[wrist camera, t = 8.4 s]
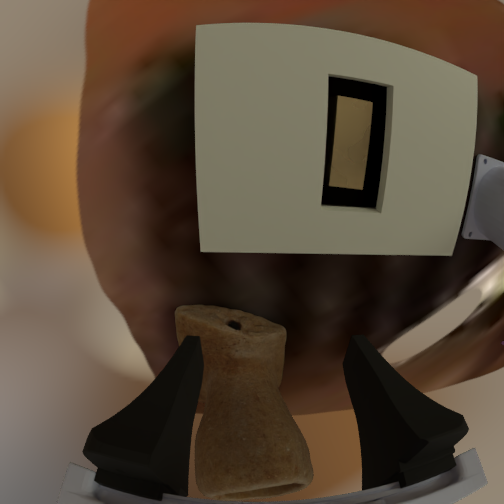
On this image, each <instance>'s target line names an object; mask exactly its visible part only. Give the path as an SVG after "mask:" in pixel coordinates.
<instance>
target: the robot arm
mask: <svg viewBox="0 0 504 504" xmlns="http://www.w3.org/2000/svg"><path fill="white" fill-rule="evenodd" d="M469 233H470V234H469ZM462 237H464V238H465V239H479V240H491V241H492V242H494V243H495V244H496V245H497V246H499V247H500V248H501V249H503V250H504V162H501V161H499V160H496V159H493V158H490V157H487V156H484V155H481V154H479V155H478V156H477V158H476V165H475V172H474V178H473V184H472V189H471V194H470V199H469V204H468V209H467V213H466V217H465V221H464V225H463V229H462ZM343 368H344V375H345V381H346V384H347V388H348V391H349V395H350V398H351V402H352V405H353V408H354V412H355V415H356V419H357V424H358V431H359V438H360V446H361V457H362V491H358V492H353V493H348V494H342V495H336V496H330V497H324V498H315V499H306V500H294V501H279V502H278V501H277V502H237V501H219V500H207V499H198V498H190V497H187V496H188V475H189V458H190V445H191V435H192V427H193V421H194V416H195V412H196V408H197V403H198V399H199V395H200V390H201V386H202V380H203V371H204V360H203V354H202V347H201V340H200V336H190V335H187V336H186V337H185V338H184V340H183V341H182V343H181V345H180V346H179V348H178V349H177V351H176V352H175V354H174V355H173V357H172V358H171V359H170V361H169V362H168V364H167V365H166V366H165V368H164V369H163V370H162V371H161V372H160V374H159V375H158V376H157V377H156V378H155V380H154V381H153V382H152V383H151V384H150V385H149V386H148V387H147V388H146V389H145V390H144V391H143V392H142V393H141V394H140V395H139V396H138V397H137V398H136V399H135V400H133V401H132V402H131V403H130V404H129V405H128V406H126V407H125V408H124V409H122V410H121V411H120V412H118V413H117V414H115V415H114V416H112V417H111V418H109V419H108V420H106V421H104V422H102V423H101V424H99V425H97V426H96V427H94V428H92V430H91V432H90V433H89V435H88V438H87V440H86V443H85V446H84V449H83V454H84V456H85V457H86V458H87V459H88V460H90V461H91V462H92V463H93V464H94V465H95V466H97V467H98V469H97V472H94V471H92V470H90V469H88V468H85V467H82V466H79V465H77V464H74V463H71V462H70V463H69V465H68V468H67V471H66V474H65V477H64V480H63V483H62V487H61V490H60V493H59V497H58V500H57V503H58V504H453V503H455V502H457V501H459V500H461V499H462V498H465V497H466V496H468V495H470V494H472V493H473V492H475V491H477V490H479V489H480V488H482V487H483V486H485V485H487V479H486V476H485V474H484V471H483V468H482V465H481V462H480V460H479V457H478V454H477V452H476V449H475V448H472V449H470V450H468V451H466V452H464V453H462V454H460V455H458V456H456V457H455V458H454V456H453V453H454V452H455V449H454V445H455V444H456V443H458V442H459V441H460V440H461V439H462V438H463V437H464V436H465V435H466V434H467V432H468V430H469V428H468V426H467V424H466V421H465V419H464V417H463V415H461V414H459V413H457V412H454V411H452V410H450V409H447V408H445V407H444V406H442V405H440V404H438V403H437V402H435V401H433V400H432V399H430V398H429V397H427V396H426V395H424V394H423V393H421V392H420V391H419V390H417V389H416V388H415V387H413V386H412V385H411V384H410V383H409V382H407V381H406V380H405V379H404V378H403V377H402V376H401V375H400V374H399V373H398V372H397V371H396V370H395V369H394V368H393V367H392V366H391V365H390V364H389V363H388V362H387V361H386V360H385V359H384V358H383V357H382V356H381V354H380V353H379V352H378V351H377V350H376V349H375V348H374V346H373V345H372V344H371V343H370V342H369V341H368V339H367V338H366V337H365V336H364V335H352V337H351V340H350V343H349V346H348V349H347V352H346V355H345V358H344V361H343Z"/></svg>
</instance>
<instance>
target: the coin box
mask: <svg viewBox="0 0 504 504" xmlns="http://www.w3.org/2000/svg"><path fill="white" fill-rule="evenodd" d="M328 76H330V77H337V78H344V79H350V80H356V81H362V82H367V83H372V84H377V85H381V86H386V87H387V104H386V123H385V137H384V149H383V159H382V168H381V176H380V184H379V192H378V198H377V205H376V207H364V206H348V205H330V204H321V201H322V190H323V178H324V165H325V150H326V133H327V111H328ZM476 122H477V76H476V75H474V74H472V73H470V72H468V71H466V70H464V69H462V68H459V67H457V66H455V65H453V64H450V63H448V62H446V61H443V60H441V59H438V58H436V57H433V56H430V55H428V54H425V53H422V52H419V51H416V50H413V49H410V48H407V47H404V46H401V45H398V44H394V43H391V42H387V41H384V40H380V39H376V38H372V37H367V36H363V35H358V34H354V33H349V32H343V31H338V30H332V29H325V28H318V27H310V26H300V25H289V24H273V23H224V24H207V25H196V49H195V151H196V180H197V201H198V219H199V235H200V249H201V252H242V253H307V254H373V255H442V256H452V253H453V250H454V247H455V243H456V240H457V236H458V232H459V228H460V225H461V221H462V216H463V212H464V208H465V203H466V198H467V193H468V188H469V182H470V176H471V170H472V163H473V155H474V146H475V136H476Z"/></svg>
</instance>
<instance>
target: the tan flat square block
mask: <svg viewBox="0 0 504 504" xmlns="http://www.w3.org/2000/svg"><path fill="white" fill-rule="evenodd" d="M372 107H373V102H369V101H365V100H360V99H355V98H350V97H344V96H338V95H337V96H333V97H329V98H328V111H327V133H326V150H325V165H324V178H323V181H324V182H325V183H326V184H327V185H328V186H334V187H344V188H352V189H361V190H363V184H364V177H365V170H366V163H367V155H368V147H369V139H370V129H371V119H372Z"/></svg>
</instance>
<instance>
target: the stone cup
mask: <svg viewBox="0 0 504 504" xmlns="http://www.w3.org/2000/svg"><path fill="white" fill-rule="evenodd" d="M175 323H176V332H177V340H178V343H179V346H180V345H181V343H182V341H183V340H184V338H185V337H186V336H187V335H190V336H200V340H201V347H202V354H203V360H204V371H203V380H202V386H201V390H200V395H199V399H198V401H200V402H203V403H205V408H204V413H203V417H202V419H201V422H200V426H199V428H198V431H197V434H196V440H195V476H196V484H197V486H198V489H199V491H200V492H201V493H202V494H203V495H204V496H207V497H211V498H213V499H217V500H220V501H240V500H249V499H262V498H271V497H276V496H282V495H285V494H290V493H293V492H297V491H300V490H302V489H304V488H306V487H307V486H308V485H309V484H310V483H311V482H312V479H313V468H312V464H311V460H310V453H309V449H308V446H307V443H306V440H305V439H304V437H303V435H302V433H301V431H300V429H299V428H298V426H297V424H296V422H295V421H294V419H293V417H292V415H291V414H290V412H289V410H288V408H287V406H286V404H285V402H284V400H283V398H282V396H281V394H280V391H279V389H278V388H279V386H280V384H281V381H282V374H283V366H284V355H285V342H286V337H287V335H286V329H285V328H284V327H283V326H281V325H279V324H275V323H273V322H270V321H268V320H266V319H264V318H262V317H260V316H255V315H253V314H250V313H247V312H243V311H241V310H234V309H228V308H224V307H219V306H204V305H202V304H200V305H183V306H179V307H177V308H176V311H175Z"/></svg>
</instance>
